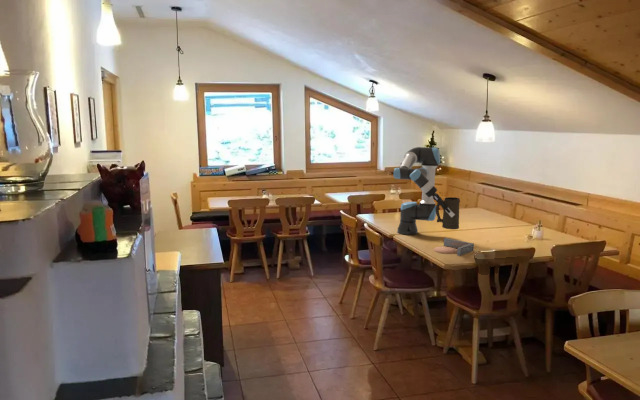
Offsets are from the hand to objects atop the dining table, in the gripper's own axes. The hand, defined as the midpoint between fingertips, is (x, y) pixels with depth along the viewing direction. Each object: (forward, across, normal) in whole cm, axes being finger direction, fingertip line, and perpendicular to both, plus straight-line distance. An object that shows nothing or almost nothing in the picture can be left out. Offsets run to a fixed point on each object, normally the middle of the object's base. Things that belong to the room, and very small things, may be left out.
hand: (452, 214), depth 329 cm
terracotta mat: (+15, 0, -19) cm, 25 cm away
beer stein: (+4, +1, -9) cm, 10 cm away
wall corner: (+18, -2, -16) cm, 25 cm away
